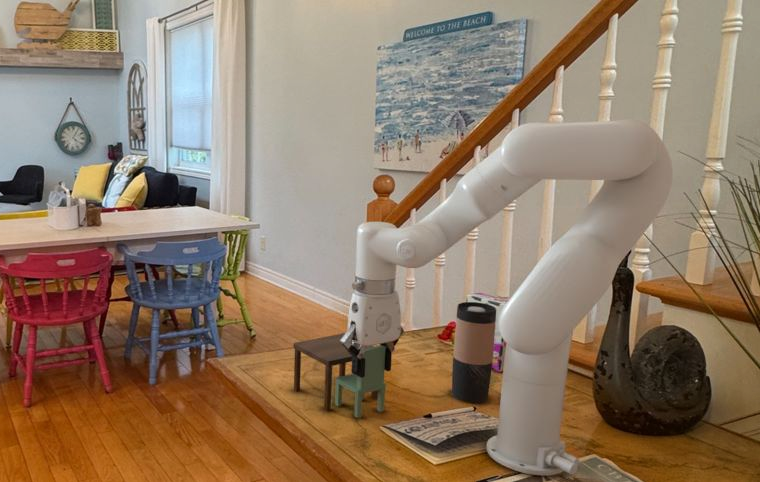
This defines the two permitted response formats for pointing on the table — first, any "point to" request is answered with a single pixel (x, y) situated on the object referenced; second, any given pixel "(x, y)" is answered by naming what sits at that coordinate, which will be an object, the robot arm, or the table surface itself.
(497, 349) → the candy bar box
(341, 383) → the chair
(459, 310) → the travel mug
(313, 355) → the side table
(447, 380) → the table surface
